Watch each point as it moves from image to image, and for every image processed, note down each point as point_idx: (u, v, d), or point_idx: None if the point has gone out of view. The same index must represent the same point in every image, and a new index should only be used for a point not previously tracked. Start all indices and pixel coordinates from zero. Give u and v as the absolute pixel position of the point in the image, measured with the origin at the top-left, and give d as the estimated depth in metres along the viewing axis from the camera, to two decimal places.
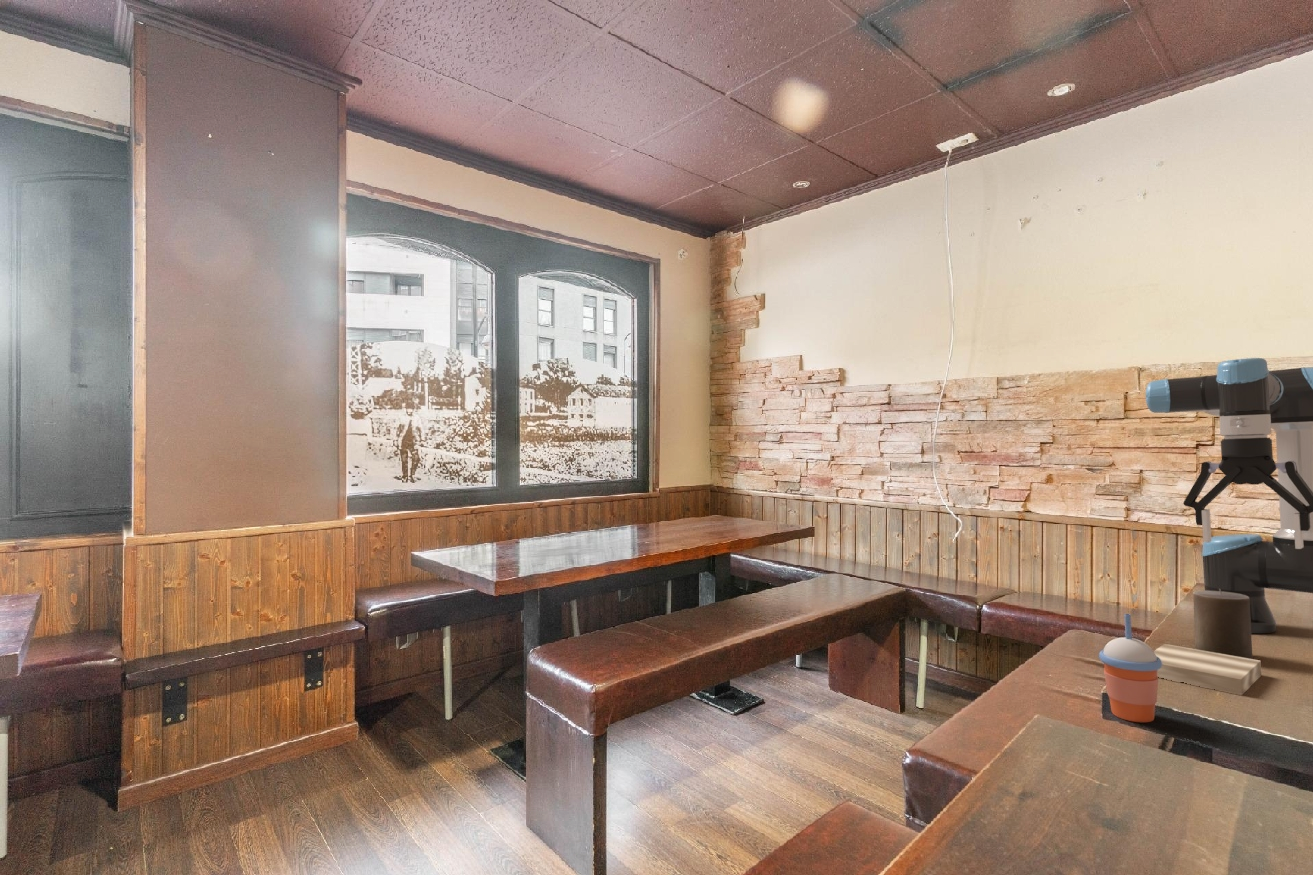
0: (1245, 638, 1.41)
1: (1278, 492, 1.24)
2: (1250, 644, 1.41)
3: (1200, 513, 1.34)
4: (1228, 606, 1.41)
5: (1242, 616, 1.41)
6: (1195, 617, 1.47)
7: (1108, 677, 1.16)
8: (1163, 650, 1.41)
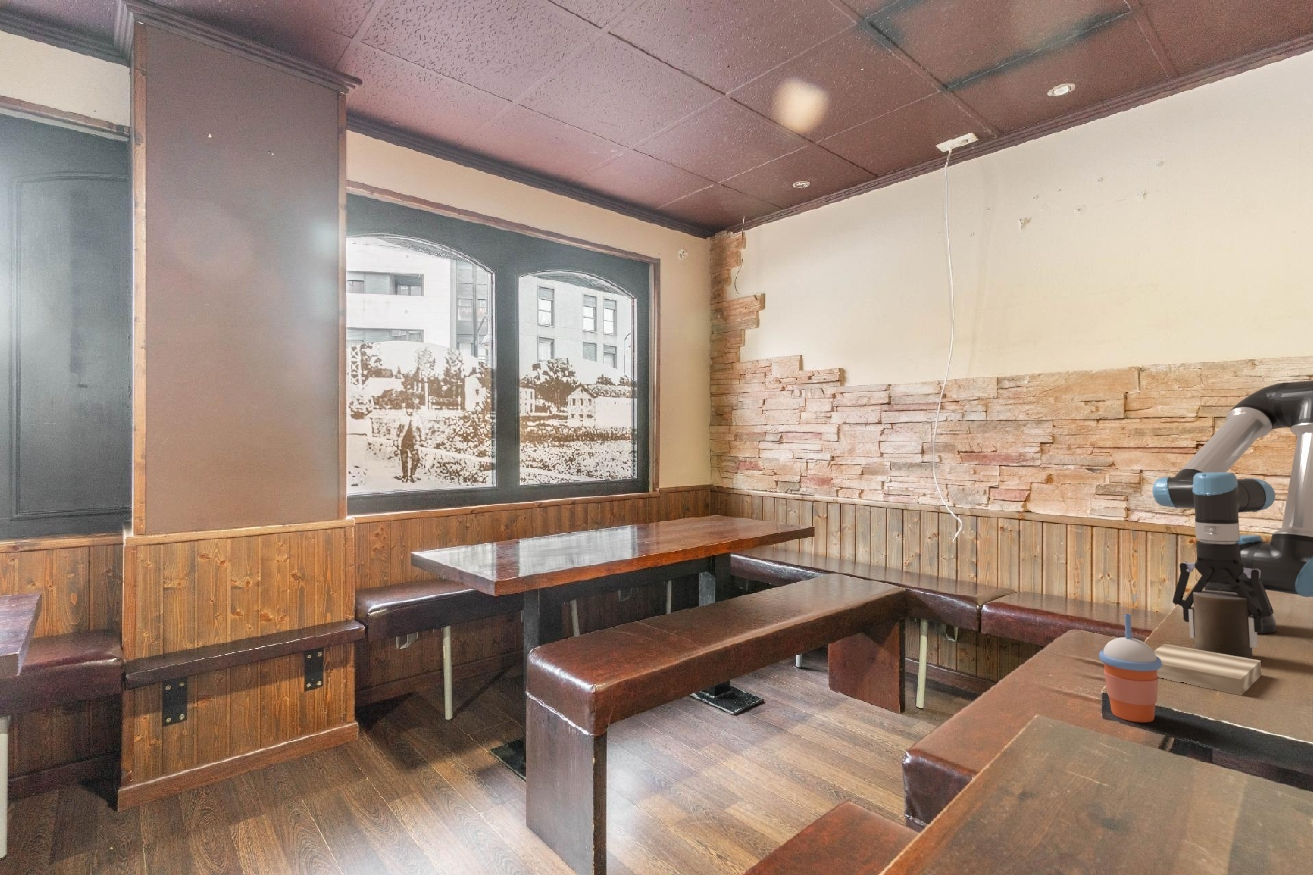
0: (1245, 638, 1.41)
1: (1240, 595, 1.42)
2: None
3: (1187, 611, 1.50)
4: (1228, 606, 1.41)
5: (1242, 616, 1.41)
6: (1195, 617, 1.47)
7: (1108, 677, 1.16)
8: (1163, 650, 1.41)
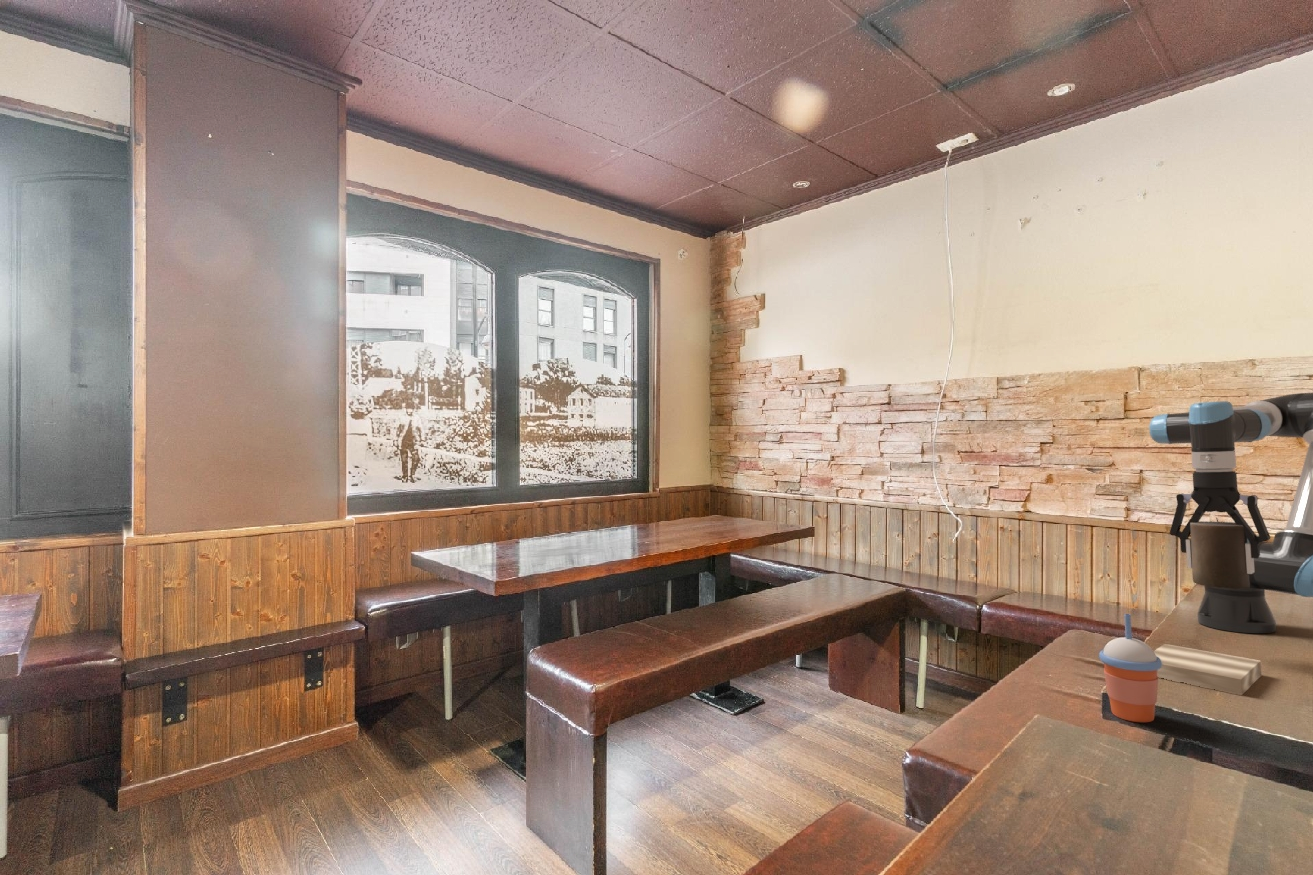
0: (1242, 565, 1.41)
1: (1236, 522, 1.43)
2: None
3: (1184, 542, 1.50)
4: (1225, 533, 1.42)
5: (1238, 542, 1.41)
6: (1192, 547, 1.48)
7: (1108, 677, 1.16)
8: (1163, 650, 1.41)
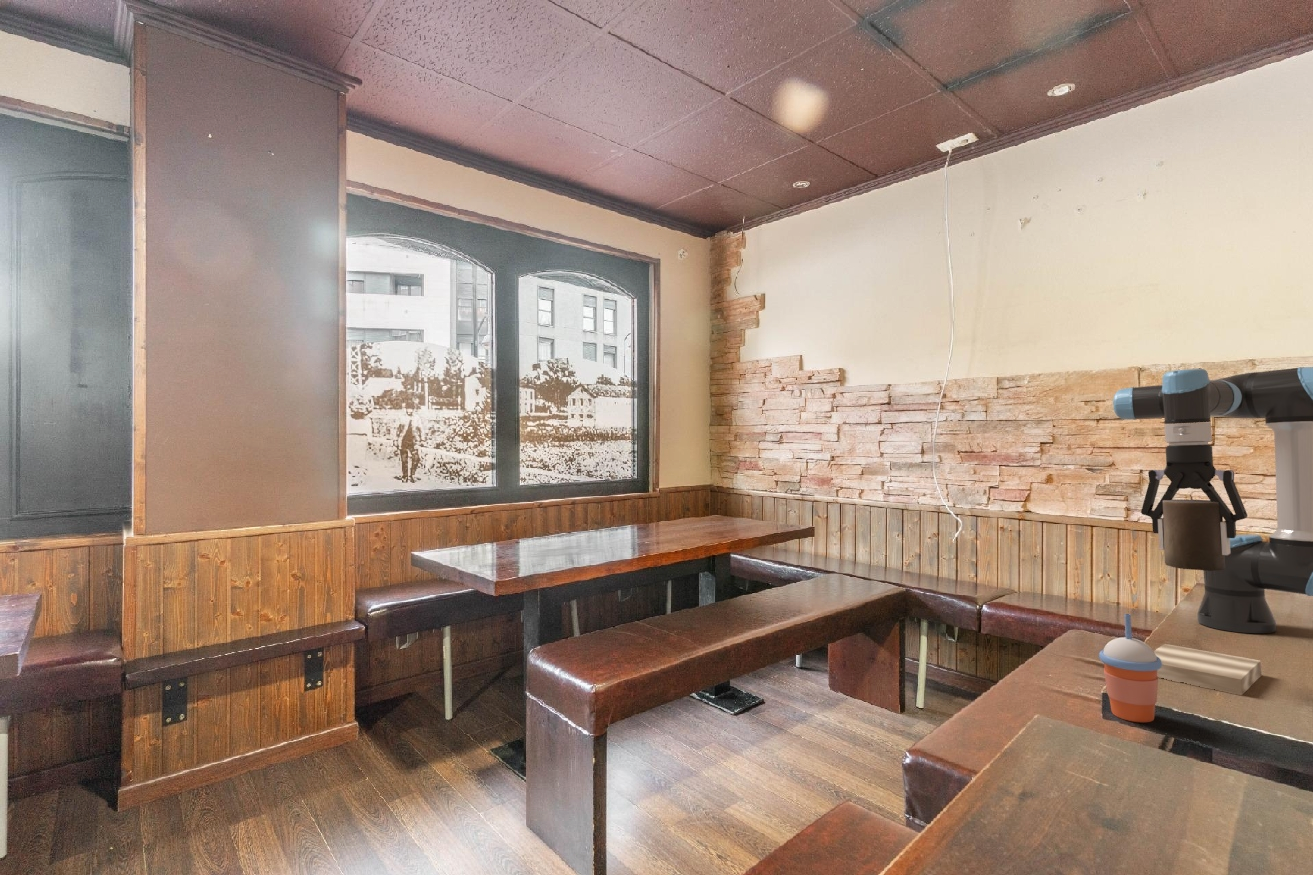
0: (1217, 545, 1.30)
1: (1211, 499, 1.32)
2: None
3: (1156, 522, 1.39)
4: (1198, 510, 1.31)
5: (1213, 520, 1.30)
6: (1164, 526, 1.37)
7: (1108, 677, 1.16)
8: (1163, 650, 1.41)
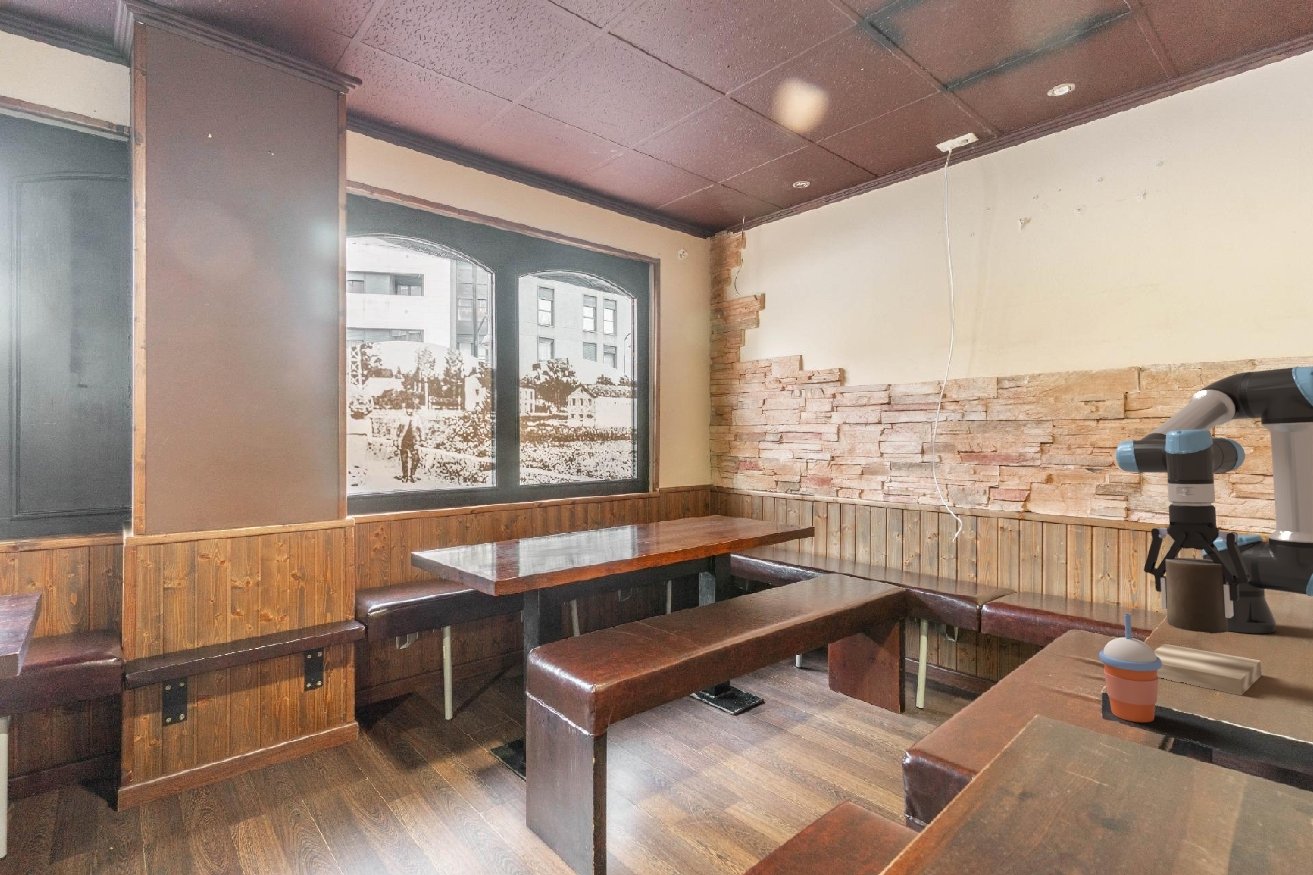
0: (1220, 607, 1.30)
1: (1214, 561, 1.31)
2: None
3: (1159, 580, 1.39)
4: (1202, 572, 1.31)
5: (1216, 583, 1.30)
6: (1167, 586, 1.37)
7: (1108, 677, 1.16)
8: (1163, 650, 1.41)
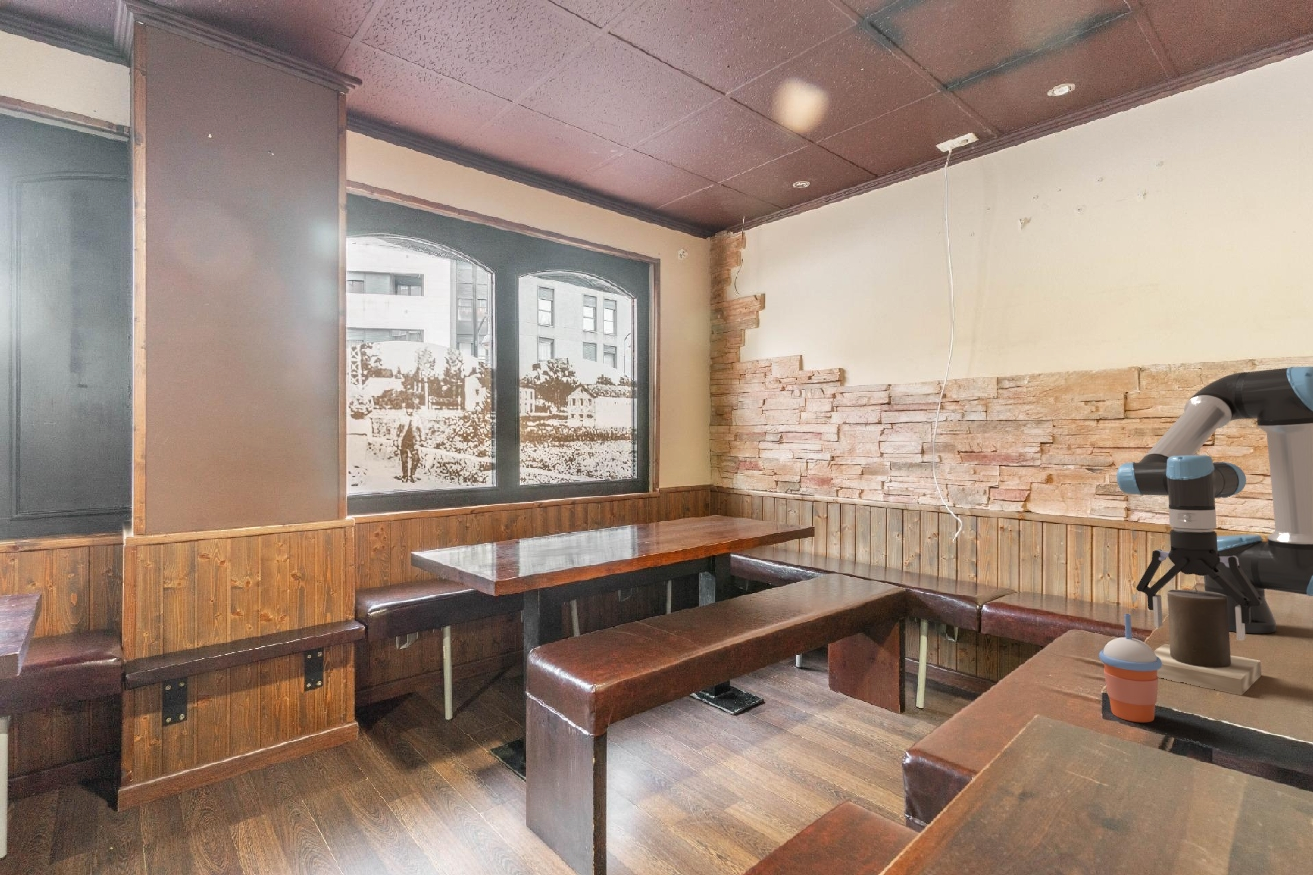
0: (1223, 641, 1.30)
1: (1221, 585, 1.31)
2: (1228, 647, 1.30)
3: (1151, 599, 1.40)
4: (1204, 606, 1.31)
5: (1218, 617, 1.30)
6: (1169, 618, 1.36)
7: (1108, 677, 1.16)
8: (1163, 650, 1.41)
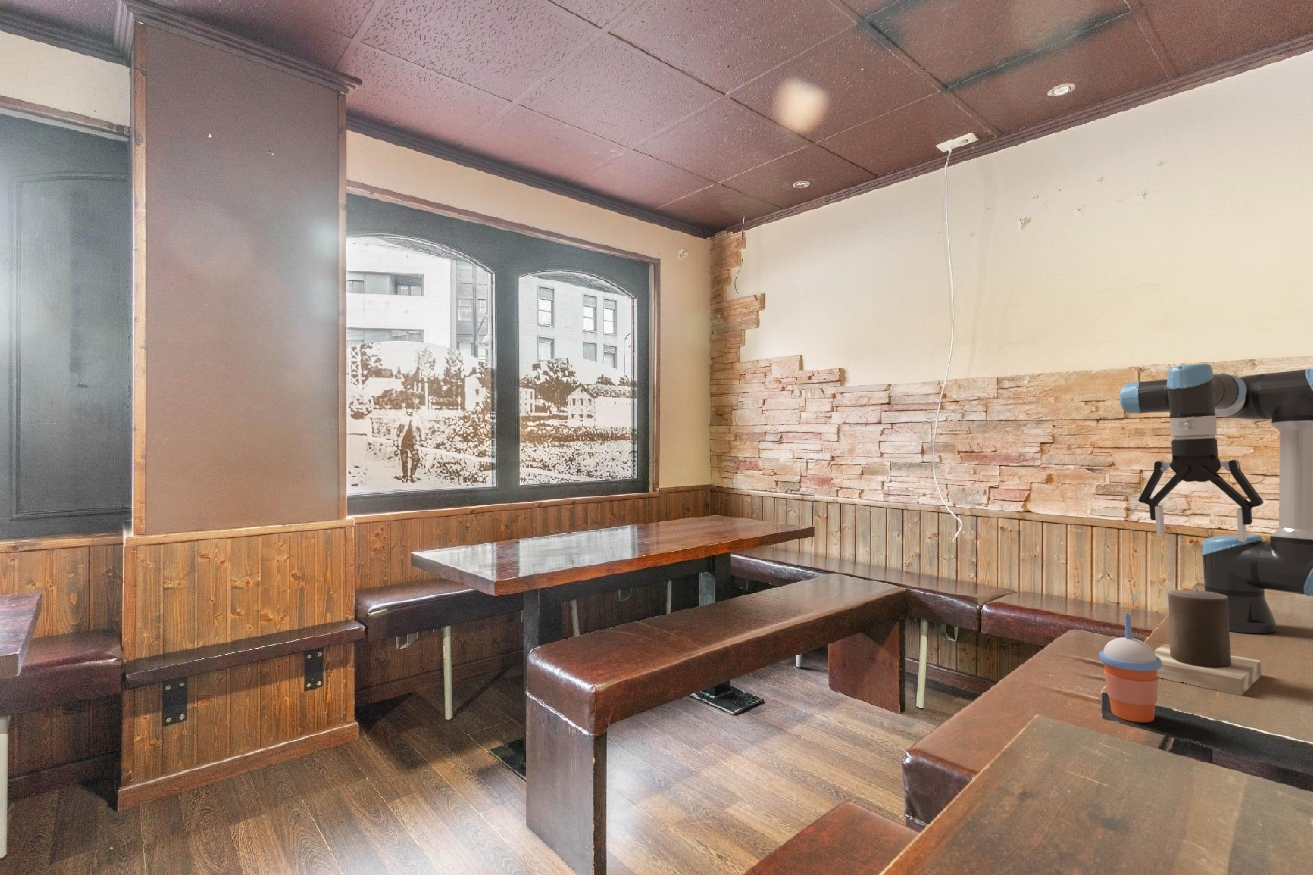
0: (1223, 641, 1.30)
1: (1223, 489, 1.33)
2: (1229, 648, 1.30)
3: (1154, 509, 1.43)
4: (1204, 606, 1.31)
5: (1219, 617, 1.30)
6: (1170, 618, 1.36)
7: (1108, 677, 1.16)
8: (1163, 650, 1.41)
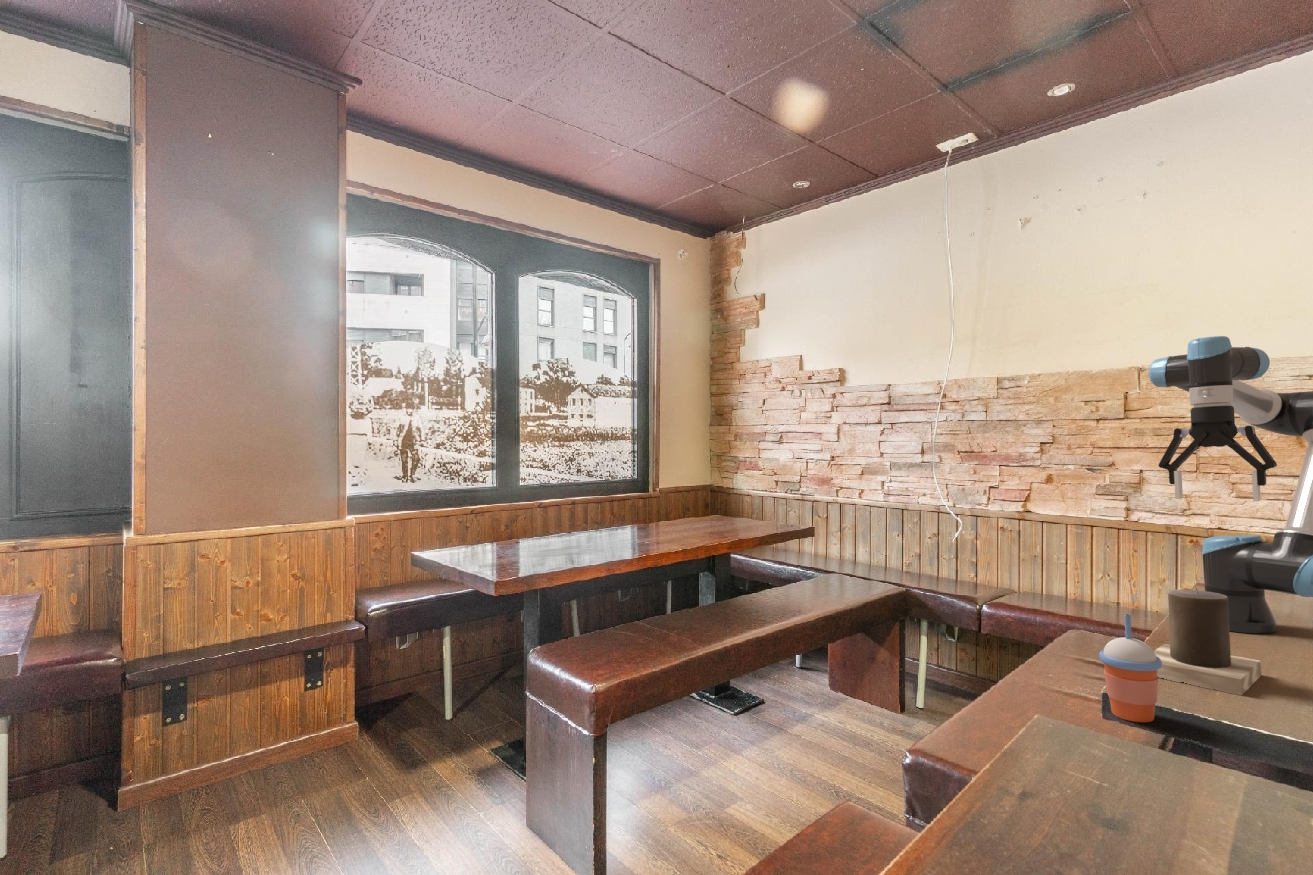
0: (1223, 642, 1.30)
1: (1239, 453, 1.43)
2: (1229, 648, 1.30)
3: (1173, 474, 1.52)
4: (1204, 606, 1.31)
5: (1219, 617, 1.30)
6: (1170, 618, 1.36)
7: (1108, 677, 1.16)
8: (1163, 650, 1.41)
